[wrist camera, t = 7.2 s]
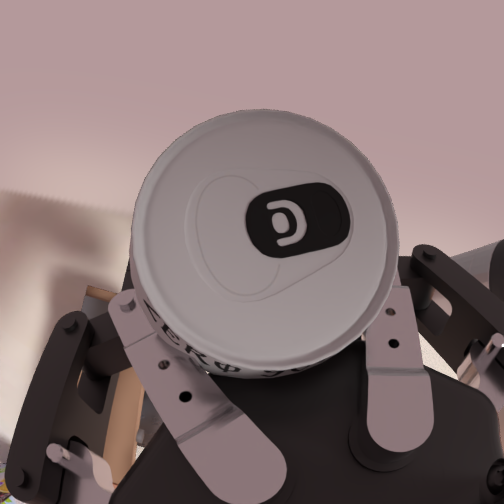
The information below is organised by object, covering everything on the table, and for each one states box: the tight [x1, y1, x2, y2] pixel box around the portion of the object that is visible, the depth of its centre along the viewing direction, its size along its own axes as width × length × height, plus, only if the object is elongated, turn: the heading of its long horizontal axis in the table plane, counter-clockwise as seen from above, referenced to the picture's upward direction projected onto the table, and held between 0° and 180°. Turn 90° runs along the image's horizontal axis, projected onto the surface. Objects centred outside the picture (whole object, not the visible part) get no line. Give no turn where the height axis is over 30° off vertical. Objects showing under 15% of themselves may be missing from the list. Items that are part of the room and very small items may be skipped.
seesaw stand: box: [137, 391, 163, 447], centre depth 28 cm, size 12×10×6 cm
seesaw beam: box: [77, 286, 145, 488], centre depth 22 cm, size 9×28×4 cm, turn 169°
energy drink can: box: [129, 109, 399, 379], centre depth 12 cm, size 6×6×15 cm
